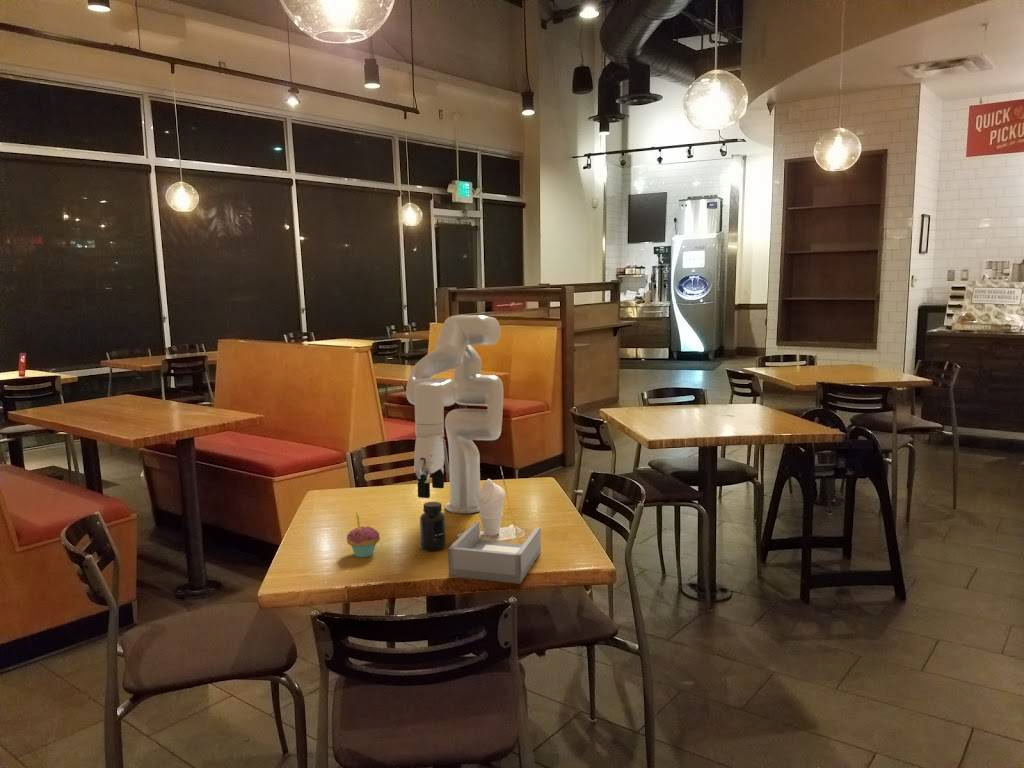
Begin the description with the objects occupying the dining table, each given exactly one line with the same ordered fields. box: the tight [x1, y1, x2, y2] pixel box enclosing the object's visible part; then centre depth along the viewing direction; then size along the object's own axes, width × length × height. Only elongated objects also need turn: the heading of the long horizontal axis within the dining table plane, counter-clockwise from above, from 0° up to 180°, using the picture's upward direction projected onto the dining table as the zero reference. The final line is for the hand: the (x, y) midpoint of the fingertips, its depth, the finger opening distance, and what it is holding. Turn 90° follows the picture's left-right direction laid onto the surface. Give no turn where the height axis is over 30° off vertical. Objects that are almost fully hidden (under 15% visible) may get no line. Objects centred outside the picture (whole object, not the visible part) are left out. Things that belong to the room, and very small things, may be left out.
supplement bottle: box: [419, 501, 447, 552], centre depth 193 cm, size 7×7×12 cm
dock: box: [447, 521, 542, 585], centre depth 181 cm, size 20×18×7 cm
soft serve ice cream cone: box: [476, 478, 506, 537], centre depth 203 cm, size 8×8×16 cm
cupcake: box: [346, 512, 381, 558], centre depth 189 cm, size 9×8×12 cm
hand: (431, 492), depth 191 cm, fingers open, 9 cm apart
